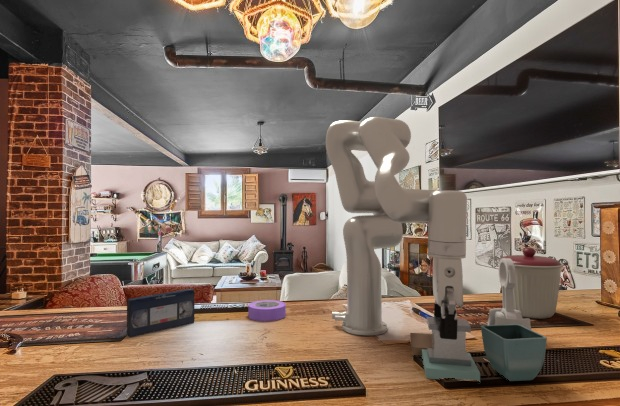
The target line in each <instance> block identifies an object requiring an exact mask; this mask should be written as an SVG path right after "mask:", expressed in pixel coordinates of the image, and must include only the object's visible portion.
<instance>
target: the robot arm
mask: <svg viewBox="0 0 620 406" xmlns="http://www.w3.org/2000/svg"><path fill="white" fill-rule="evenodd" d="M411 139H412V132H411V129H410V127H409V125H408V124H407V123H406V122H405V121H403V120H401V119H396V118H388V117H381V116H371V117H368V118H366V119H364V120H363V121H357V120H349V119H348V120H347V119H346V120H336V121H334V122H332V123H331V124H330V125H329V127H328V128H327V132H326V135H325V150H326V154H327V157H328V159H329V162H330V164H331V166H332V169H333V171H334V174H335V175H334V176H335V179H336V184H337V189H338V193H339V198H340V202H341V206H342V208H343V209H344V210H345V211H346V212H348V213H351V214H369V215H356V216H352V217H350V218H348V219H347V220H346V221H345V222H344V224H343V228H342V236H343V242H344V247H345V252H346V279H347V280H346V281H347V282H346V285H347V287H346V289H347V290H346V293H347V298H346V299H347V300H346V302H347V303H346V304H347V305H346V306H347V309H346V311H343V312H339V311H332V312H331V319H334V321H336V322H337V321H338V322H339V321H341V322H342V323H341V328H342V330H343V331H345V332H346V333H349V334H352V335H356V336H363V337H364V336H366V337H367V336H368V337H369V336H378V335H382V334H385V333H386V332H387V331H388V324H387V323H386V322H385V321H382V319H383V318H382V312H383V311H382V309H383V308H382V265H381V261H380V259H379V257H378V255H377V253H376V251H375V250H377V249H380V250H381V249H390V248H391V249H392V248H395V247H397V246H398V245H400V243H401V242H402V239H403V235H404V231H403V224H410V223H411V224H412V223H414V224H415V223H423V224H424V223H427V225H428V228H427V256H429V257H432V291H433V293H432V295H433V298H434V302H435V303H434V308H433V309H434V310H433V317H439V318H440V338H442V339H452V340H456V339H457V321H458V320H457V319H458V314H457V313H458V312H457V307H458V308H459V309H461V308H463V307H464V285H463V282H464V280H463V279H464V277H463V263H462V259H466V257H467V256H466V254H467V253H466V251H467V216H468V215H467V212H468V197H467V194H466V193H465V192H464V191H462V190H452V189H451V190H448V189H447V190H433V189H421V188H419V189H418V188H417V189H414V188H413V189H412V188H411V189H410V188H402V186H401V185H400V183H399V182H398V180H397V178H396V175H398V174H399V173H401V172H402V171H403V170H404V169H405V168H406V167H407V166H408V164H409V163H410V153H409V152H408V150H407V147H408V146H409V144H410V142H411ZM352 151H362V152H367V153H368V155H369V157H370V158H371V160H372V162H373V163H374V165H375V167H376V169H377V170H376V173H375V176H374V181H372V180H368V179H367V176H366V175H365V170H364V167H363V165H362V163H361V161H360V160H359V159H358V157H357V156H356V155H355V154H354V153H353V152H352ZM370 214H373V215H370Z"/></svg>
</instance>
